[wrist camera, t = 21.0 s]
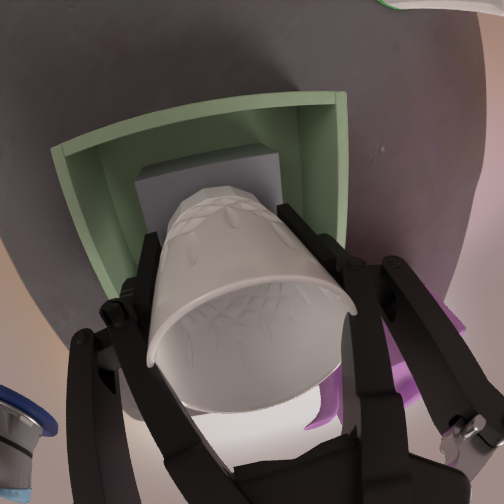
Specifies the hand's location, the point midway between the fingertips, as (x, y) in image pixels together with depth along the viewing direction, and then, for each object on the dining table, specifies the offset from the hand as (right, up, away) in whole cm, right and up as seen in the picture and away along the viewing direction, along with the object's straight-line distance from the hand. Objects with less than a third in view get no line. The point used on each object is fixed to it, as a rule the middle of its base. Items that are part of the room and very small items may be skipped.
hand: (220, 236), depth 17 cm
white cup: (0, 0, 0) cm, 0 cm away
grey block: (-1, +2, +4) cm, 5 cm away
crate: (-1, +3, +5) cm, 6 cm away
